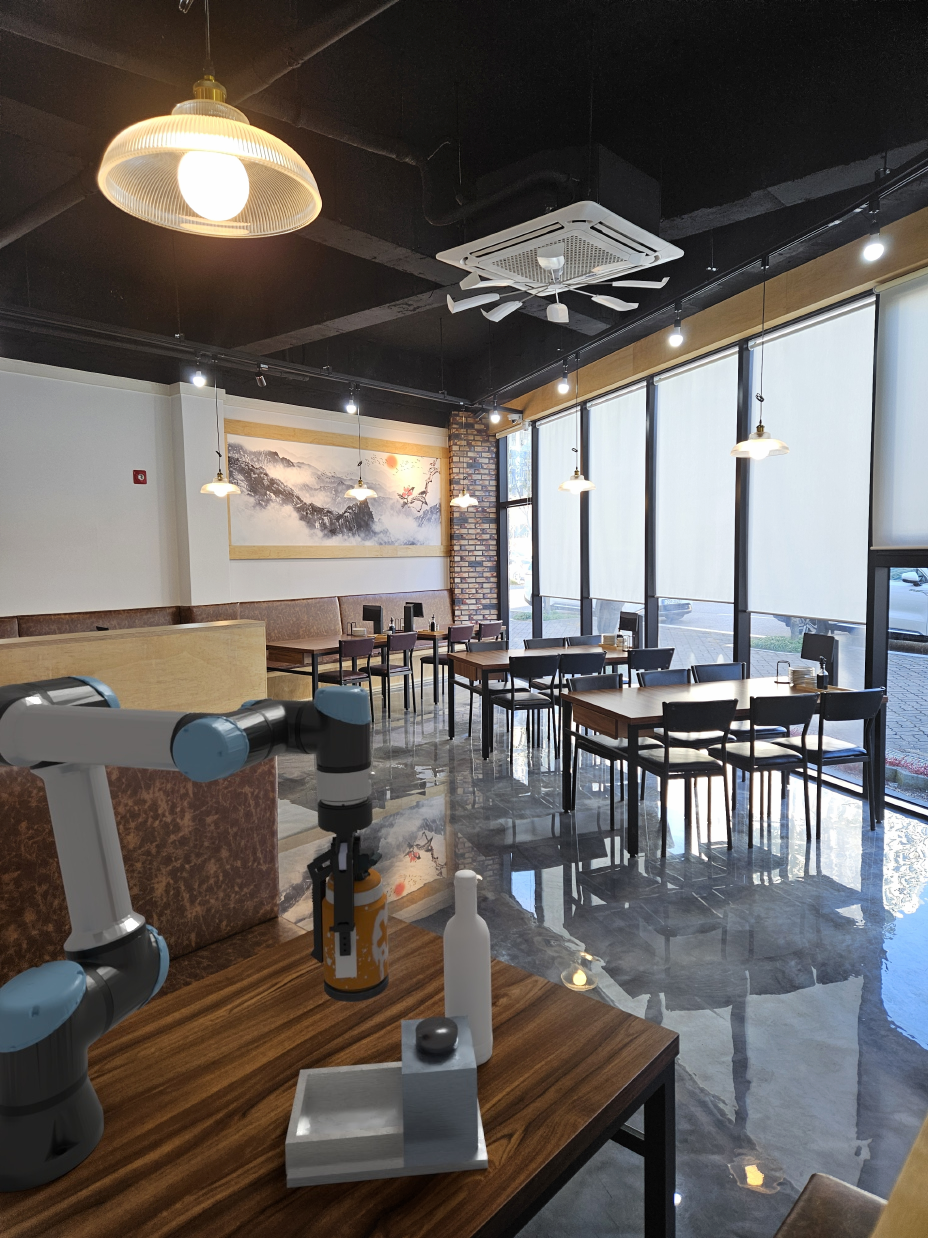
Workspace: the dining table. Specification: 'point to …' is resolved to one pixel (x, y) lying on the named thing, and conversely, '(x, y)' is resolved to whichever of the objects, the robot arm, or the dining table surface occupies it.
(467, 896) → the bottle
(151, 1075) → the dining table surface
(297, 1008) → the dining table surface
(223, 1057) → the dining table surface
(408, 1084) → the grey holder tray
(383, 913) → the canister
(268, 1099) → the dining table surface
